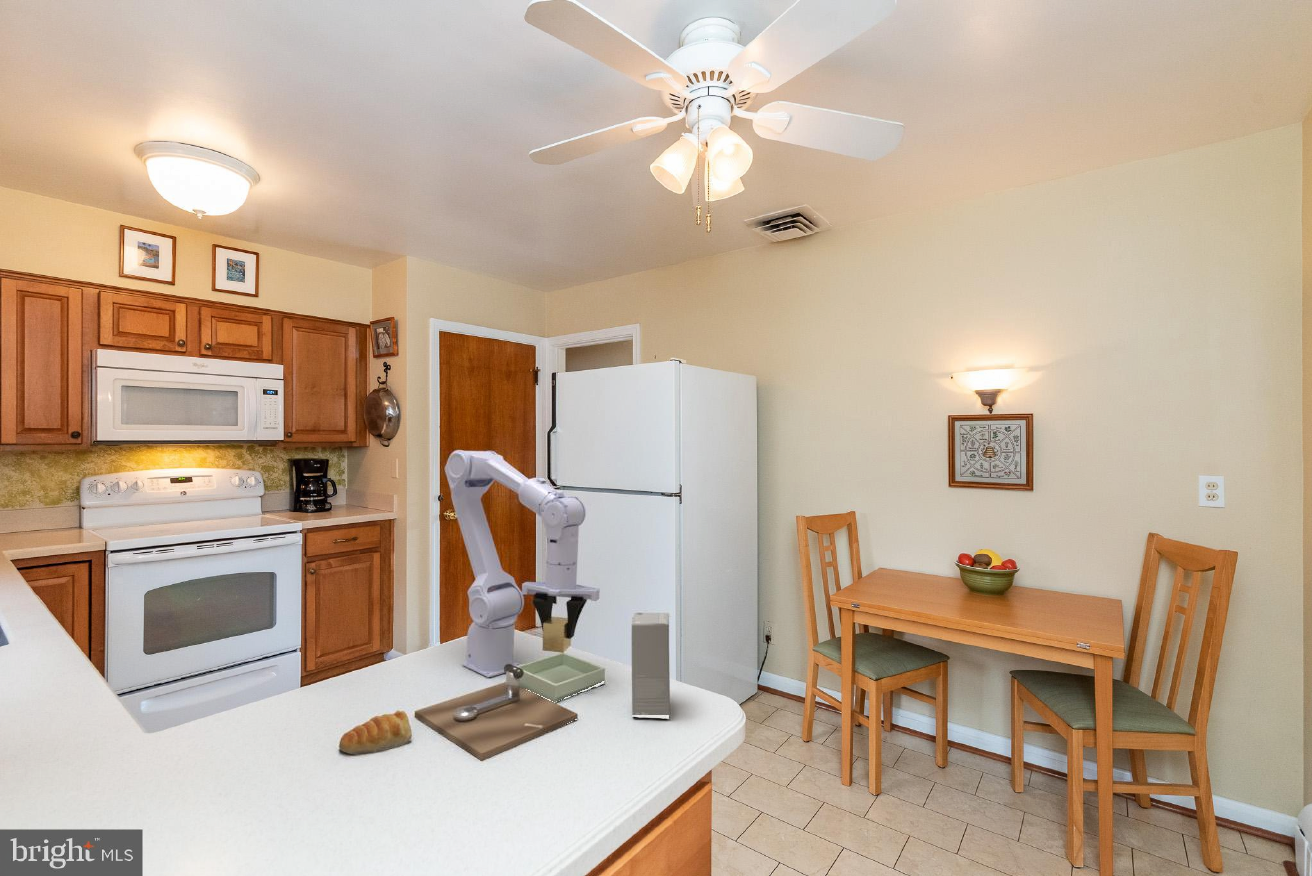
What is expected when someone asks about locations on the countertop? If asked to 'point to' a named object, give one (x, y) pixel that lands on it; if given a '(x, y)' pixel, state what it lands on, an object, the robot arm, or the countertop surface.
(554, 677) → the tray
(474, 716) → the crank
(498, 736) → the crank plate
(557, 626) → the block
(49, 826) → the countertop surface
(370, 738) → the pastry
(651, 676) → the skincare box
